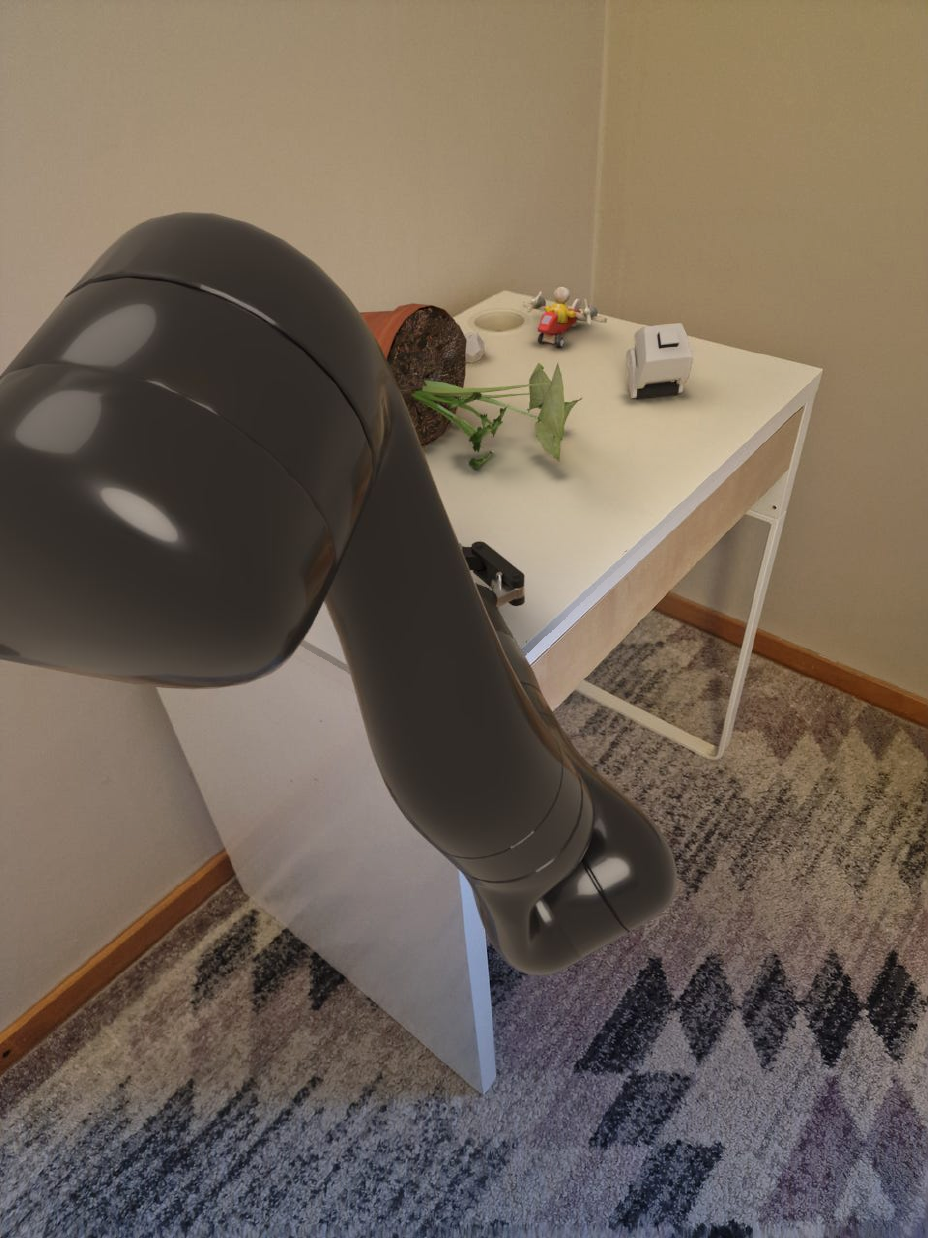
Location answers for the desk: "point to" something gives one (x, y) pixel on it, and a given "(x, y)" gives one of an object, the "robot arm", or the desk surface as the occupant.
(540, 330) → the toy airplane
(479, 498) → the desk surface
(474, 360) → the grey rock
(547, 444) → the potted plant
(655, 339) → the white boxy gadget
